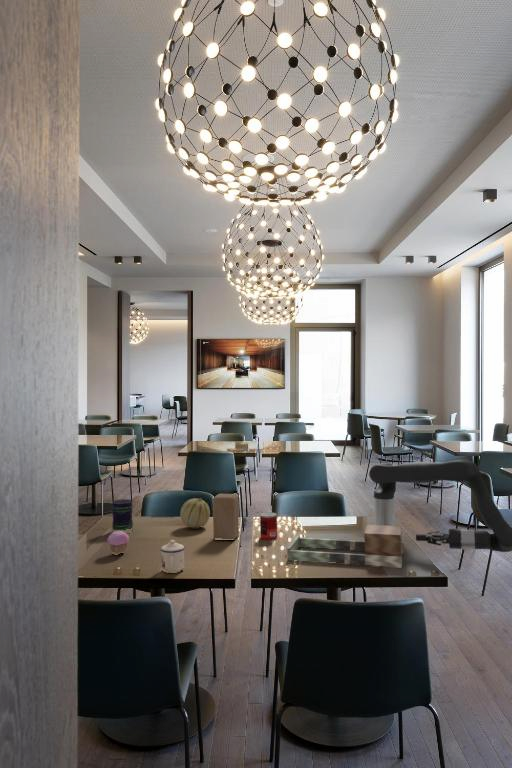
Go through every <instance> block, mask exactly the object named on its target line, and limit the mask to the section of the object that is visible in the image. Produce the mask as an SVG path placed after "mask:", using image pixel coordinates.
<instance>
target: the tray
mask: <svg viewBox="0 0 512 768" xmlns="http://www.w3.org/2000/svg"><path fill="white" fill-rule="evenodd" d="M299 547H315V548H314V549H316V548H333V549H334V548H335V549H345V550H344V551H351V550H359V551H358V552H365V540H351V539H350V540H347V539H333V538H332V539H331V538H311V537H301V535H300V534H299V535H298V534H297V535H296V536H295V537H294V539H293V540H292V541H291V543H290V544H289V545H288V547H287V548H286V550H287V552H286V553H287V554H286V559H287V560H297V561H296V562H302V561H317V562H336V563H345V564H344V565H349V564H359V565H358V566H364V565H376V566H375V567H380V566H385V568H397V569H399V568H400V569H401V568H403V556H402V557H399V556H382V555H365V553H364V554H362V553H345V552H328V551H311V550H299V549H300V548H299ZM298 548H299V549H298ZM333 549H332V550H333ZM402 554H404V543H403V542H402ZM317 562H316V563H317Z"/></svg>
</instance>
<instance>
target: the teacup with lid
mask: <svg viewBox="0 0 512 768" xmlns="http://www.w3.org/2000/svg"><path fill="white" fill-rule="evenodd" d="M160 551H161V570H162V569H165V570H180V569H182V568H184V569H185V546H184V545H183V544H181V543H178V542H176V540H175V539H171V540H169V542H168V543H167V544H164V545H162V546H161V547H160Z"/></svg>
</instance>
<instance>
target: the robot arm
mask: <svg viewBox="0 0 512 768" xmlns="http://www.w3.org/2000/svg"><path fill="white" fill-rule="evenodd" d="M368 475H369V478H370V480H372V482H374V483H375V484H379V485H378V487H377V488H376V489H375V490H374V491H373V519H374V520H373V522H374V524H373V525H384V526H397V514H396V513H395V493H396V490H397V489H396V488H397V484H396V483H408V484H426V483H434V482H438V481H439V482H440V481H445V482H446V481H448V482H455V483H464V484H465V483H466V484H467V486H468V487H469V489H471V491H472V493H473V496H474V497H475V503H476V507H477V510H478V512H479V514H480V516H481V518H482V520H483V521H484V523H485V525H486V526H487V528H488V529H490V530H492V531H491V532H493V533H490V532H488V531H487V530H477V529H476V530H474V529H473V530H472V529H465V528H464V529H463V528H461V529H459V528H450V529H448V533H444V532H443V531H442V532H441V531H433V532H427V533H426V534H421V533H420V534H418V533H417V534H415V540H416V541H418V542H426V543H427V544H432V545H436V546H438V547H439V546H441V545H445V544H446V545H447V544H448V546H449V549H452V550H453V549H455V550H474V549H475V550H490V551H493V552H500V553H509V552H510V553H511V552H512V526H510V524H509V523H508V522H507V521H506V520H505V518H504V516H503V515H502V513H501V511H500V510H499V508H498V507H497V505H496V503H495V501H494V500H493V498H492V496H491V494H490V492H489V489H488V488H487V485H486V483H485V481H484V479H483V477H482V474H481V472H480V469H479V467H478V465H477V464H476V462H474V461H472V460H469V459H457V460H452V461H451V460H450V461H445V462H433V461H413V462H406V463H405V462H404V463H401V464H396V465H393V464H392V463H390V462H381V463H377V464H374V465H373V466H372V467H371V468H370V469H369V473H368Z"/></svg>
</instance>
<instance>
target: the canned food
mask: <svg viewBox="0 0 512 768" xmlns="http://www.w3.org/2000/svg"><path fill="white" fill-rule="evenodd" d="M277 516H278V514H277V513H276V512H263V513H262V512H261V513H260V515H259V523H260V524H259V526H260V528H259V530H260V531H259V532H260V540H261V539H262V540H264V541H273V540H275V539H277V537H278V517H277Z"/></svg>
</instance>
